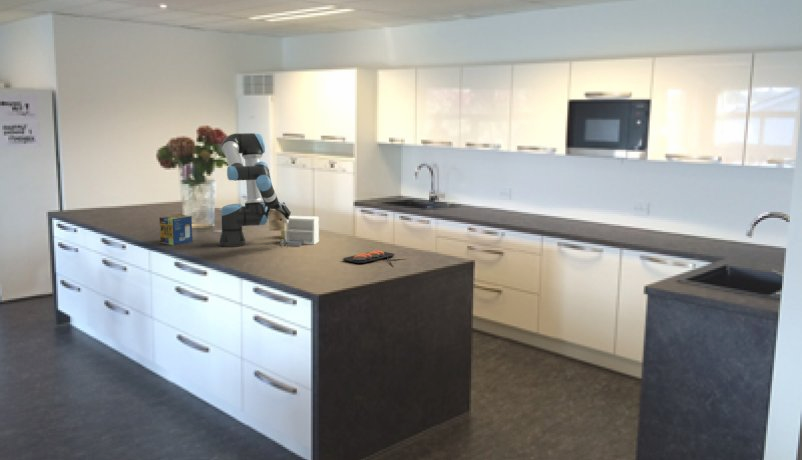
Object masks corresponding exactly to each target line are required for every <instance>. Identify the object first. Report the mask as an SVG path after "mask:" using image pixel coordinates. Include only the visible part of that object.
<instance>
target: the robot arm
mask: <svg viewBox="0 0 802 460" xmlns="http://www.w3.org/2000/svg"><path fill="white" fill-rule="evenodd" d="M221 152H222V154H223V155H224V156H225V157H226V159H225V160H226V162H227V164H228V166H227V168H226V176H227V179H228V181H246V183H245V184H246V197H247V198H246V199H247V200H246V201H245V202H244V205H242V204H241V203H232V204H226V205H224V206H222V207H221V210H220V217H221V218H220V219H221V233H220V236H219V239H218V245H219V246H220V247H226V248H227V247H229V248H230V247H232V248H233V247H241V246H242V247H243V246H245V245H246V244H247V241H246V237H245V234H244V232H243V227H250V226H251V227H254V226H264V225H266V224H267V222H268V221H269V211H270V209H276V210H277V211H279V212H280V213H282V214H283V215H284V218H285V221H286V223H287V224H288V222H289V216H291V213H292V212H291V211H290V209H289V208H288V207H287V205H286V203H285V202H282V203H280V202H279V198H278V196H277V194H276V190H275V189H274V185H273V182H272V178H271V175H270V174H271V173H270V168H269V166H268V164H267V162H265V161H261V158H262V157H263V154H265V152H266V146H265V139H264V137H263V135H262V134H261V133H256V132H255V133H254V132H253V133H251V132H249V133H247V132H246V133H238V132H237V133H231V134H229V135H227V136H226V137H225V138H224V139H223V141H222V143H221ZM240 154H241V155H240ZM241 157H242V158H243V159H244V164H245V165H244V164H243V161H242V158H241Z"/></svg>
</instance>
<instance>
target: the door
mask: <svg viewBox="0 0 802 460" xmlns="http://www.w3.org/2000/svg"><path fill="white" fill-rule="evenodd" d="M268 225H269V226H268V227H269V228H268V230H269V231H276V232H281V231H286V230H287V223H286V221H285V218H284V215H283V214H282V213H280V212H279V211H277V210H276V209H270V211H269V219H268Z"/></svg>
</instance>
